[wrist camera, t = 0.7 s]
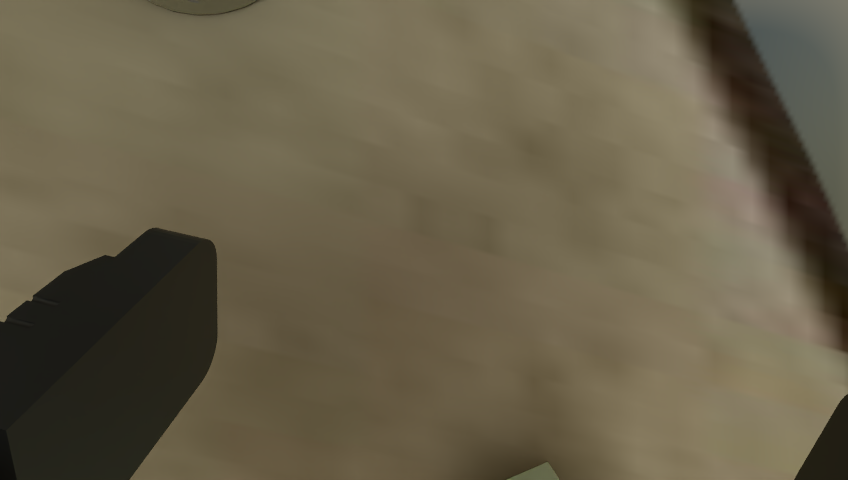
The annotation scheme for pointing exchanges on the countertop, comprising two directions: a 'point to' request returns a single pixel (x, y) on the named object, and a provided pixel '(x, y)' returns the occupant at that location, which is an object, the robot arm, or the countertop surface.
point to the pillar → (537, 473)
